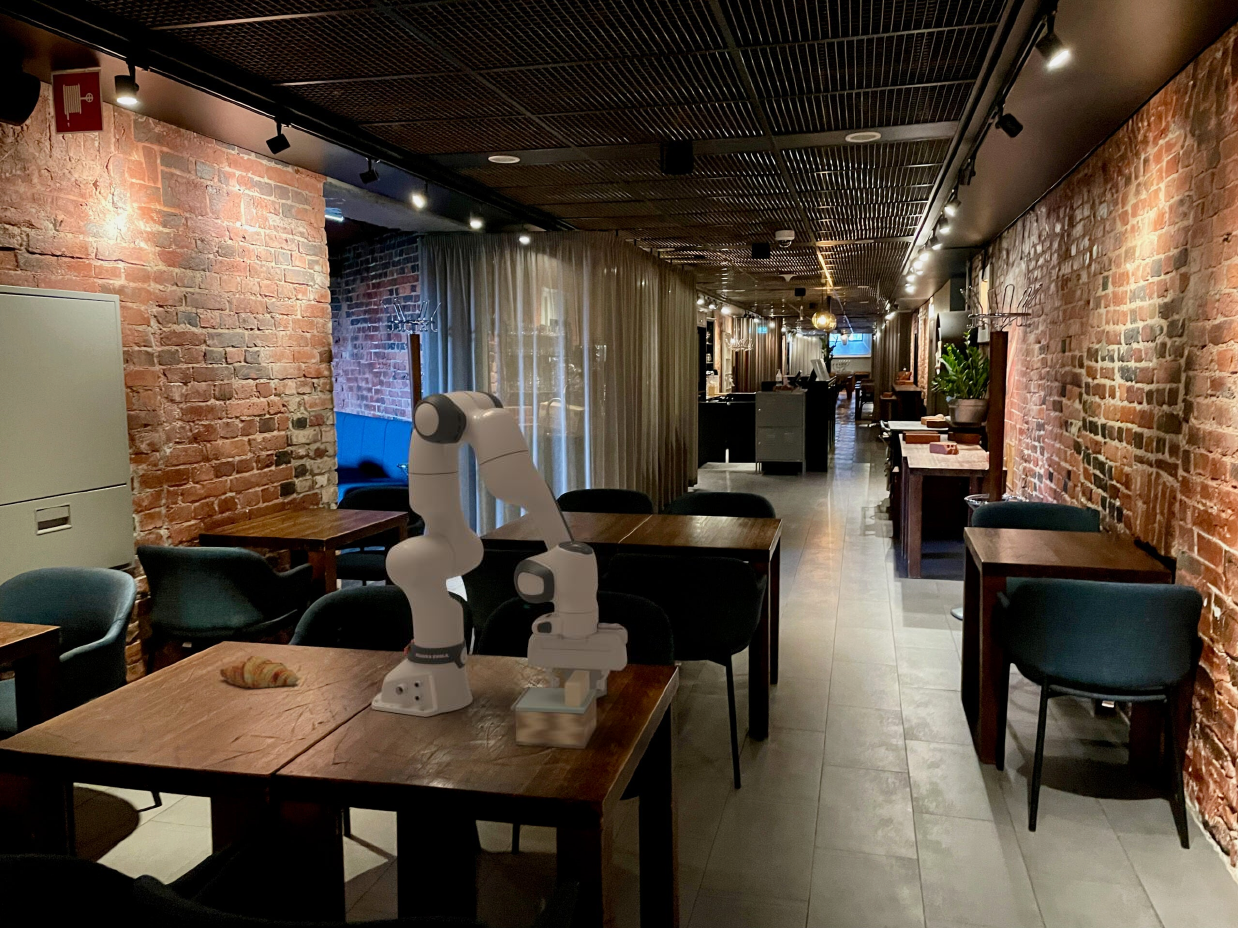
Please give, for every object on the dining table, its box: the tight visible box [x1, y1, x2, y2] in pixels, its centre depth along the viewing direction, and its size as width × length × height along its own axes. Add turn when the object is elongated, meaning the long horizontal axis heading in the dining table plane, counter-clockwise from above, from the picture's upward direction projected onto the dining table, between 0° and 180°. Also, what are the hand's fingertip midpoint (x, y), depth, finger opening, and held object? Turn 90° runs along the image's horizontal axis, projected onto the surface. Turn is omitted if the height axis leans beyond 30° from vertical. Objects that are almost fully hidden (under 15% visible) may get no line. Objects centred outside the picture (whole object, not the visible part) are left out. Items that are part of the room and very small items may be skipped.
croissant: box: [219, 655, 299, 689], centre depth 224 cm, size 21×10×8 cm, turn 78°
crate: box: [514, 694, 598, 750], centre depth 189 cm, size 14×12×7 cm
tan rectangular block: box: [565, 670, 590, 707], centre depth 187 cm, size 3×9×4 cm, turn 170°
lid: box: [509, 686, 596, 714], centre depth 188 cm, size 15×12×1 cm
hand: (577, 688), depth 187 cm, fingers open, 8 cm apart
